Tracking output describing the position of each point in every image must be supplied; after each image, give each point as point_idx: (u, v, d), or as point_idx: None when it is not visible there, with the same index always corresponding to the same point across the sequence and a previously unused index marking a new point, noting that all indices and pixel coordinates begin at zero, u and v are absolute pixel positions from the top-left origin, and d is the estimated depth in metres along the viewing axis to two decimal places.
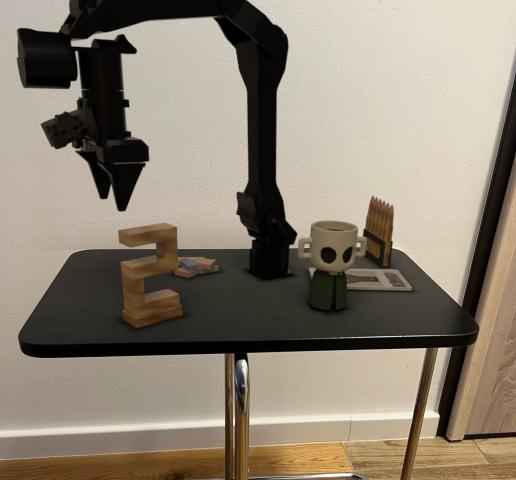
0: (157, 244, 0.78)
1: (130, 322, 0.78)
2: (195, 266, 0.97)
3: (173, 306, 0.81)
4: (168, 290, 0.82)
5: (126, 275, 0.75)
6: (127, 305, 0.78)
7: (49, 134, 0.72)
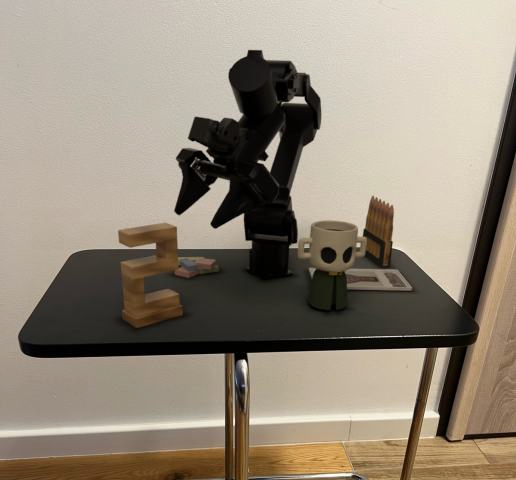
0: (157, 244, 0.78)
1: (130, 322, 0.78)
2: (195, 266, 0.97)
3: (173, 306, 0.81)
4: (168, 290, 0.82)
5: (126, 275, 0.75)
6: (127, 305, 0.78)
7: (207, 126, 0.74)
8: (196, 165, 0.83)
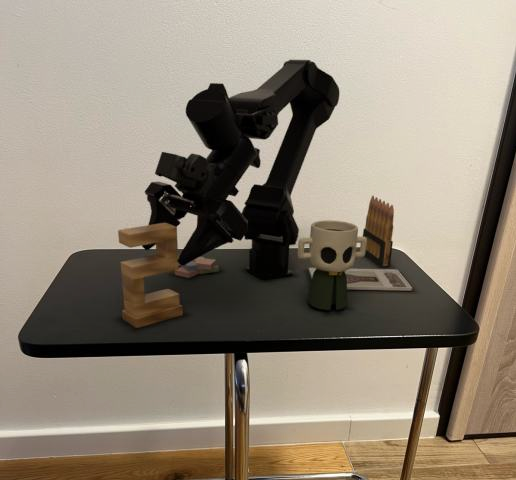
0: (157, 244, 0.78)
1: (130, 322, 0.78)
2: (195, 266, 0.97)
3: (173, 306, 0.81)
4: (168, 290, 0.82)
5: (126, 275, 0.75)
6: (127, 305, 0.78)
7: (174, 162, 0.72)
8: (165, 199, 0.81)
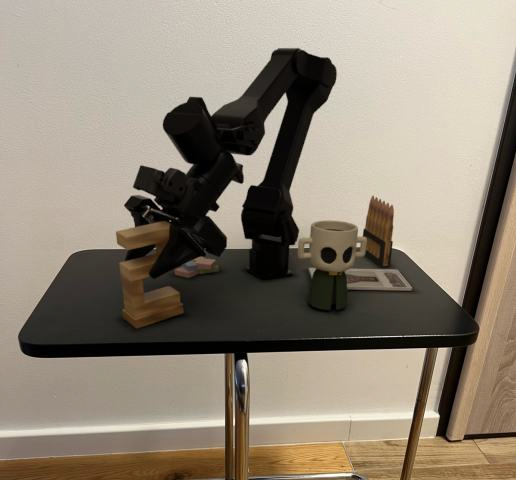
0: (156, 243, 0.77)
1: (130, 322, 0.78)
2: (195, 266, 0.97)
3: (173, 305, 0.80)
4: (169, 288, 0.81)
5: (125, 276, 0.75)
6: (126, 305, 0.77)
7: (151, 176, 0.70)
8: None
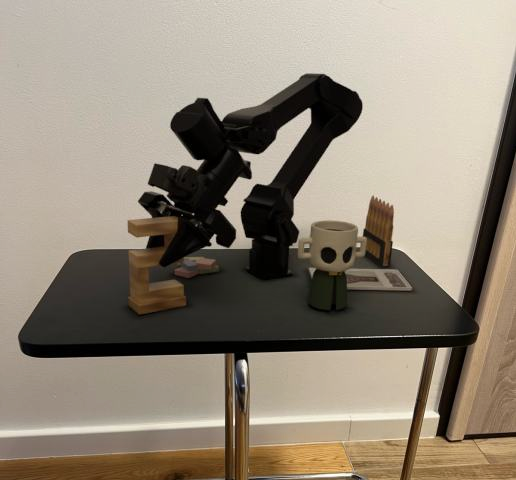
0: (165, 236, 0.81)
1: (134, 308, 0.82)
2: (195, 266, 0.97)
3: (177, 296, 0.84)
4: (174, 281, 0.85)
5: (132, 263, 0.79)
6: (132, 292, 0.82)
7: (165, 173, 0.76)
8: None
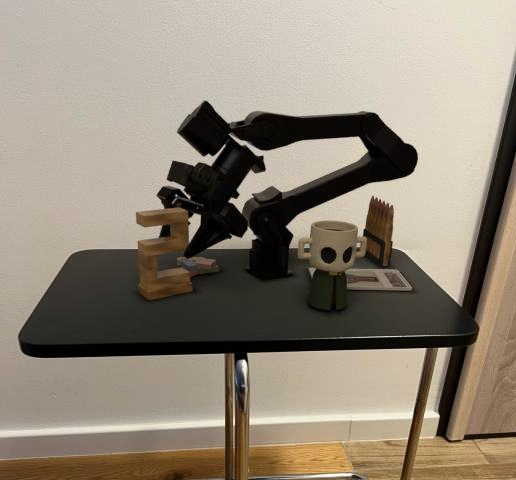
0: (171, 226, 0.87)
1: (144, 295, 0.88)
2: (195, 266, 0.97)
3: (184, 283, 0.90)
4: (180, 268, 0.91)
5: (141, 252, 0.85)
6: (142, 280, 0.87)
7: (183, 170, 0.83)
8: None
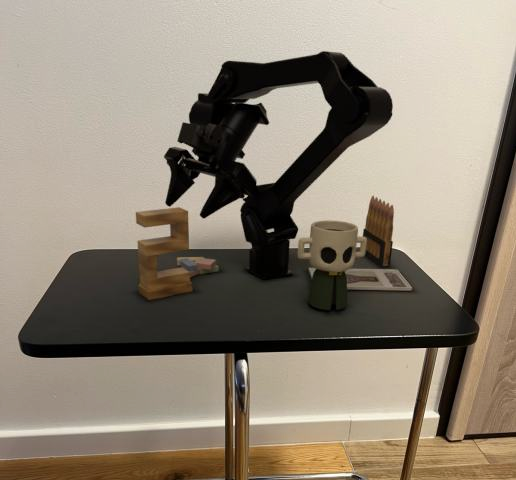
0: (171, 226, 0.87)
1: (144, 295, 0.88)
2: (195, 266, 0.97)
3: (184, 283, 0.90)
4: (180, 268, 0.91)
5: (141, 252, 0.85)
6: (142, 280, 0.87)
7: (195, 131, 0.87)
8: (182, 162, 0.96)
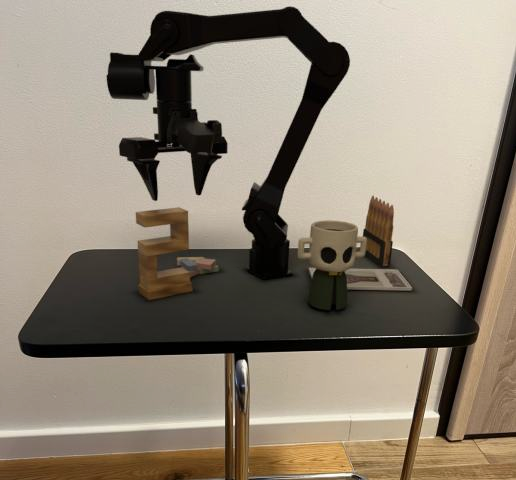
0: (171, 226, 0.87)
1: (144, 295, 0.88)
2: (195, 266, 0.97)
3: (184, 283, 0.90)
4: (180, 268, 0.91)
5: (141, 252, 0.85)
6: (142, 280, 0.87)
7: (212, 140, 0.87)
8: None
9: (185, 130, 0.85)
